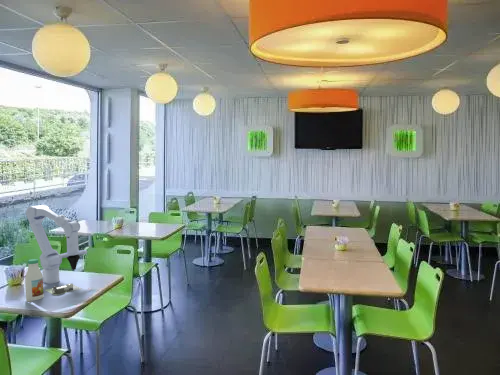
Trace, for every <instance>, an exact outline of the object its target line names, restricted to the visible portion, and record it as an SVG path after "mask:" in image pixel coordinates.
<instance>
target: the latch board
mask: <svg viewBox="0 0 500 375" xmlns="http://www.w3.org/2000/svg"><path fill="white" fill-rule="evenodd" d="M66 285H67V284H65V285H60V286H57V288H58V287H62V286H66ZM52 289H53V287H52V288H46V289H44V291H45V292H47V293H49V294H51V295H53V296H60V295H63V294H67V293H70V292H75V291H79V290H83V288H81V287H80V286H77V285H75V284H73V289H72V290H68V291H65V289H64V287H63V288H58V289H56V291H57V293H55V294H54V293H52Z"/></svg>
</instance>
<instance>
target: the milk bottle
mask: <svg viewBox="0 0 500 375" xmlns="http://www.w3.org/2000/svg"><path fill="white" fill-rule="evenodd" d="M27 266H28V268H27V270H26V274H25V277H24V282H25V283H24V284H25V285H24V287H25V301H26V302H27V303H33V301H38V300H41V299H43V298H44V297H45V295H44V294H45V292H44V291H45V290H44V283H43V273H42V271H41V269H40V267H39V259H38V258H32V259H31V258H29V259H28V260H27Z"/></svg>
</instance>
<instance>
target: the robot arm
mask: <svg viewBox="0 0 500 375" xmlns="http://www.w3.org/2000/svg"><path fill="white" fill-rule="evenodd" d="M25 216H26V217H27V220H28V222H29V226H30V228H31V230H32V232H33V235H34V237H35V240H36V242H37V244H38V247H39V249H40V251H41V254H40V255H39V260H40V266H41V267H42V271H41V273H42V276H43V284H48V285H49V284H51V285H52V284H56V283H58V282H60V267H61V264H62V263H63V259H65V258H66V259H67V260H68V262H69V265H70V268H71V270H73V271H74V270H77V267H78V266H77V265H78V262H79V260H80V258H81V256H82V255H86V254H88V250H87V249H82V250H80V249H79V248H80V247H79V231H80V229H81V225H80V223H79V221H78V220H72V219H71V218H68V217H66V215H64V214H60V215H58V214H57V213H56V212H54V211H53V210H51V209H50V208H49V206H48V205H46V204H41V205H33V206H32V205H30V206H28V207H27V208H26V211H25ZM45 218H47V219H50V220H52V221H54V223H55V225H56V226H58V227H59V228H61V229H63V231H64V234H65V237H66V252H64V253H59V252H58V251H57V250H56V249H54V248H53V247H52V245H51V242H50V240H49V238H48V235H47V234H46V231H45V228H44V227H43V225H42V223H43V221H44V220H45Z"/></svg>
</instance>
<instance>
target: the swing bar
mask: <svg viewBox="0 0 500 375" xmlns="http://www.w3.org/2000/svg"><path fill="white" fill-rule="evenodd" d="M65 285H66V286H64V285H61V286H62V287H59V286H57V285H54V286H53V287H52V288H53V289H52V293H54V294H55V293H57V291H56V289H58V288H63V287H64V289H65V291H68V290H72V289H73V285H74V283H66V284H65ZM57 287H58V288H57Z"/></svg>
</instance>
